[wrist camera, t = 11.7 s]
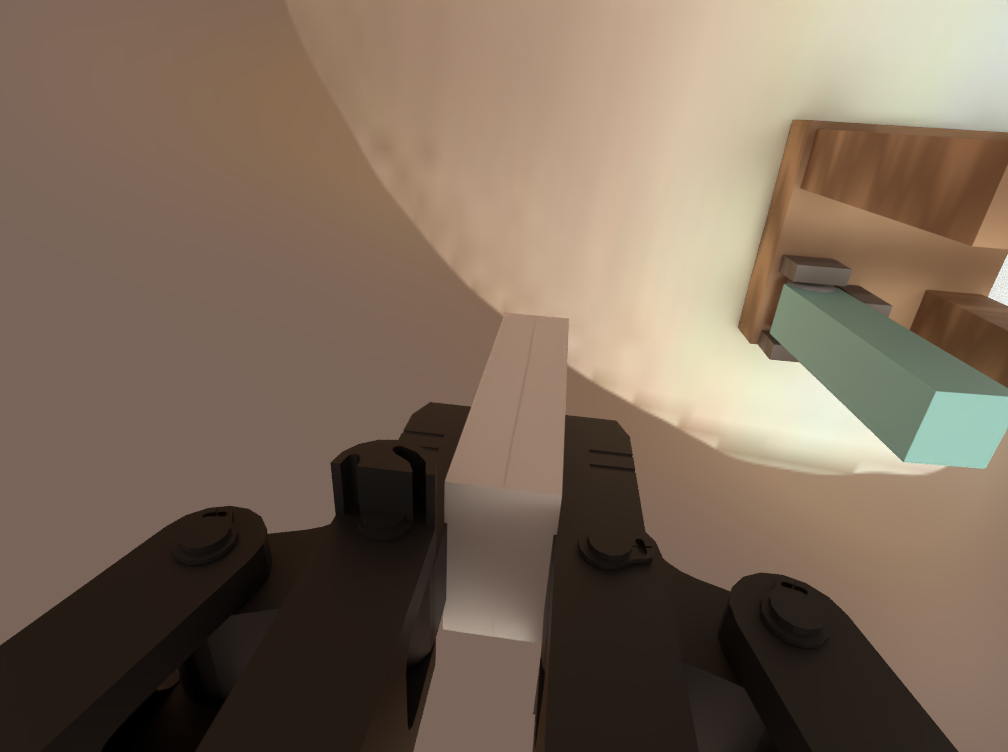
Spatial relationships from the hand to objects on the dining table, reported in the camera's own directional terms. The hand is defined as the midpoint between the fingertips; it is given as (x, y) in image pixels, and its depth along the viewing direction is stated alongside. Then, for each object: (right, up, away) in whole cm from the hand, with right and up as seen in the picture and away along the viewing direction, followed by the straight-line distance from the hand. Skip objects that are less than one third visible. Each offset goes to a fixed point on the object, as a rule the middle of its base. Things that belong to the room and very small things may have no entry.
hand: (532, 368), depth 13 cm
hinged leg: (+18, +4, +21) cm, 28 cm away
